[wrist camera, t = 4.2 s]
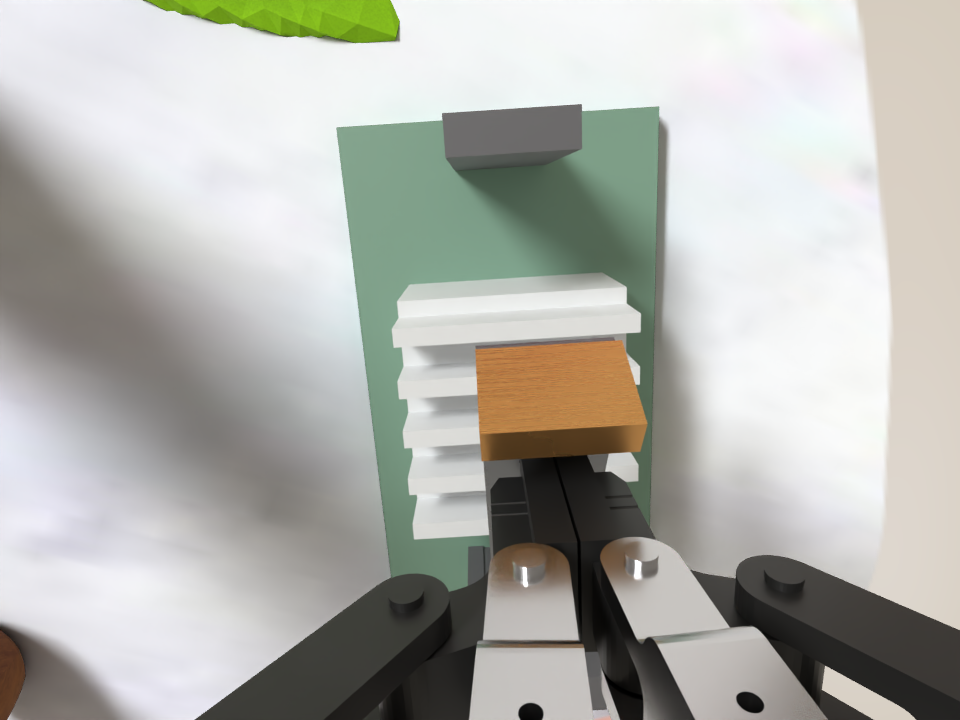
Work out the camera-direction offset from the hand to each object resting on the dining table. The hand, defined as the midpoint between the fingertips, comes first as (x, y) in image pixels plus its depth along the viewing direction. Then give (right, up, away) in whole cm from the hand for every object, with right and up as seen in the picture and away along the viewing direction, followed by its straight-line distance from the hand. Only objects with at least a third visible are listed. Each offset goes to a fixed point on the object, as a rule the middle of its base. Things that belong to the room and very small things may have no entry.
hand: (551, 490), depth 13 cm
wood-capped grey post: (0, -3, +5) cm, 6 cm away
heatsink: (0, +1, +16) cm, 16 cm away
